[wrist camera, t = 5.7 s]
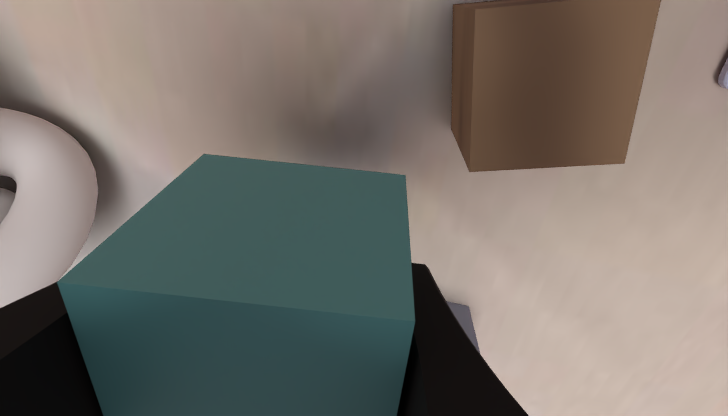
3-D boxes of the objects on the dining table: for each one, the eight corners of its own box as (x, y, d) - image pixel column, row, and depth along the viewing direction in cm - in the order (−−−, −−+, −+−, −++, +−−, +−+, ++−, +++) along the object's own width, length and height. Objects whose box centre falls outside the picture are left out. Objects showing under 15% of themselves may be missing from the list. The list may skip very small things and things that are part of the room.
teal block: (405, 175, 10) (415, 321, 6) (383, 325, 12) (377, 510, 8) (204, 154, 10) (56, 282, 6) (220, 307, 12) (126, 481, 8)
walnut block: (586, -9, 15) (662, -8, 11) (566, 120, 18) (624, 163, 13) (452, 4, 16) (475, 9, 12) (451, 128, 18) (469, 171, 14)
